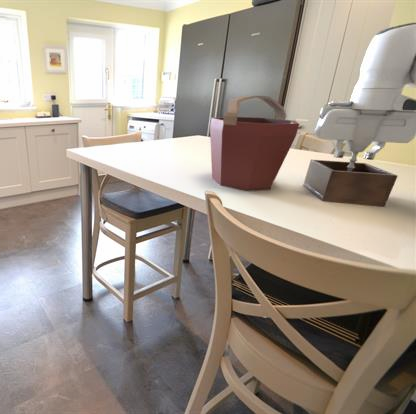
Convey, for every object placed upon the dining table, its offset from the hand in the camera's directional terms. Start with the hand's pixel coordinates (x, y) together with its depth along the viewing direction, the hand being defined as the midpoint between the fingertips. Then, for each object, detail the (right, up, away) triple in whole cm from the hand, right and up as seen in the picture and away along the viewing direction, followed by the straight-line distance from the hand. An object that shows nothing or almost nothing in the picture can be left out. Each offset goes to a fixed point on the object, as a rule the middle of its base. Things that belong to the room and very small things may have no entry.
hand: (353, 158), depth 74 cm
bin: (0, -9, +4) cm, 10 cm away
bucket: (-23, -5, +14) cm, 28 cm away
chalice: (0, -7, +3) cm, 7 cm away
